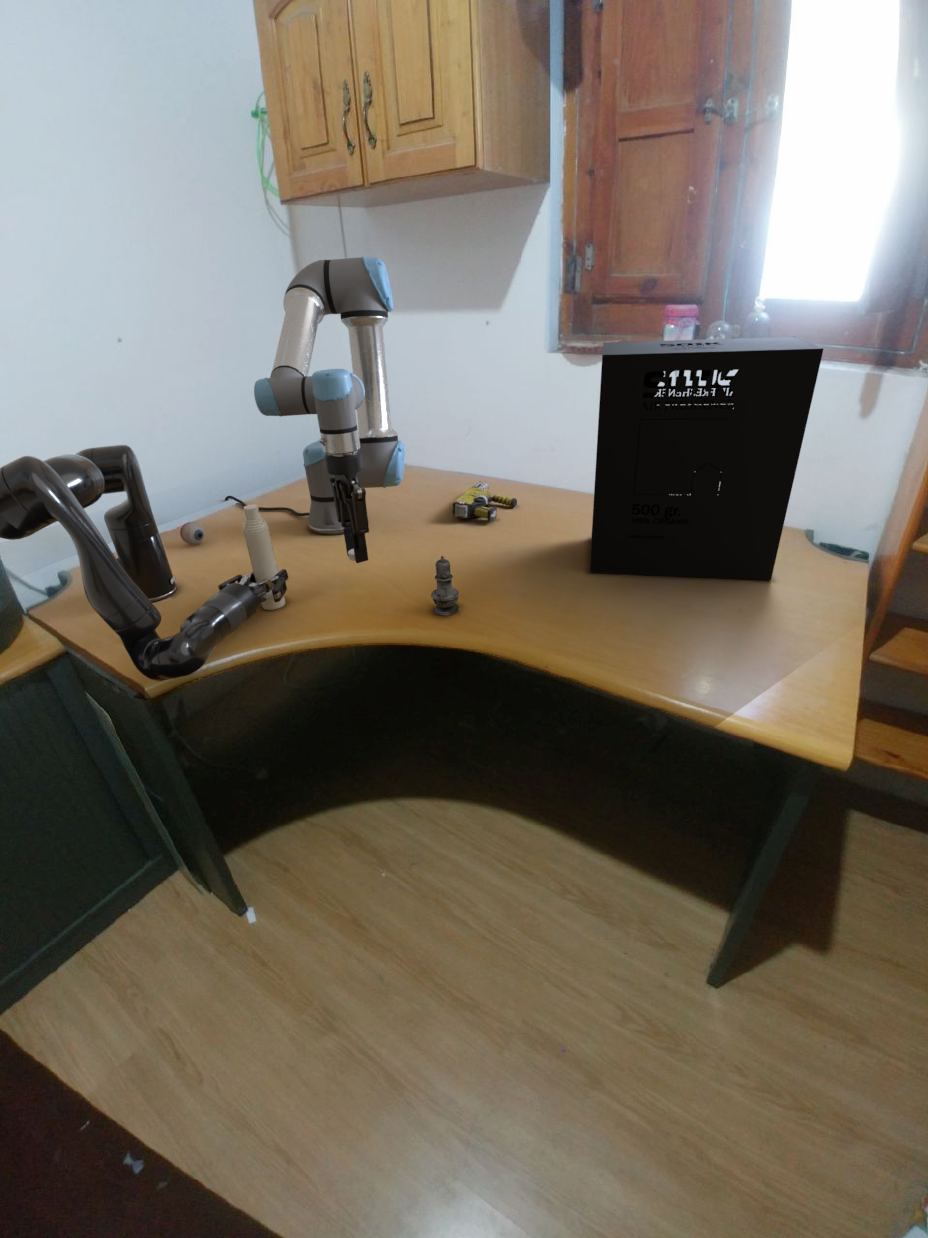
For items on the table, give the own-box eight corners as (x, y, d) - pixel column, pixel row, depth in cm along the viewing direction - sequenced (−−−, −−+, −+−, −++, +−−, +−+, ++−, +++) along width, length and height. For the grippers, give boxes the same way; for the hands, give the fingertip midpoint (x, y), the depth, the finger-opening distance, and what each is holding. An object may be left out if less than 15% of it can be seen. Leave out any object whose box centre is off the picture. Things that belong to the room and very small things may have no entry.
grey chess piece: (457, 617, 121) (453, 562, 115) (428, 615, 122) (423, 561, 116) (463, 603, 126) (459, 550, 120) (435, 601, 127) (431, 549, 121)
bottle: (272, 612, 127) (248, 512, 116) (257, 606, 129) (232, 508, 118) (290, 602, 130) (268, 504, 119) (274, 597, 133) (252, 500, 122)
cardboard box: (751, 542, 144) (793, 336, 122) (770, 580, 127) (823, 348, 105) (591, 537, 152) (603, 342, 130) (589, 572, 135) (602, 354, 112)
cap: (369, 557, 134) (368, 550, 133) (355, 562, 131) (354, 556, 131) (360, 552, 136) (359, 546, 135) (345, 557, 134) (344, 551, 133)
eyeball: (193, 549, 159) (187, 528, 156) (179, 545, 162) (172, 524, 159) (212, 541, 163) (206, 520, 160) (198, 538, 166) (191, 517, 163)
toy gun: (525, 486, 181) (478, 479, 184) (503, 510, 160) (450, 501, 164) (523, 501, 183) (477, 494, 187) (501, 526, 163) (450, 518, 167)
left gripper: (256, 596, 111) (300, 558, 125) (190, 590, 115) (240, 554, 129) (265, 630, 115) (307, 590, 129) (200, 624, 118) (248, 585, 133)
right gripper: (309, 447, 127) (327, 550, 138) (341, 463, 114) (358, 575, 126) (342, 441, 130) (357, 542, 142) (376, 456, 118) (390, 565, 129)
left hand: (273, 572), depth 129 cm, fingers closed on bottle, 5 cm apart
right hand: (357, 557), depth 134 cm, fingers closed on cap, 4 cm apart
